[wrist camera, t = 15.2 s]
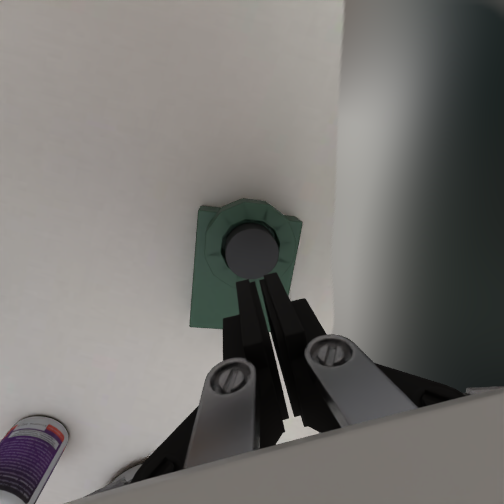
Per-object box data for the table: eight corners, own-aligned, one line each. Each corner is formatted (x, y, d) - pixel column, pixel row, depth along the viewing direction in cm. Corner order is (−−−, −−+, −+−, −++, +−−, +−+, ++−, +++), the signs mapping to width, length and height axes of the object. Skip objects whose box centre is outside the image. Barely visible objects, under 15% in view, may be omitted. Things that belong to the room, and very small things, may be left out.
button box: (201, 189, 22) (197, 195, 18) (298, 201, 23) (313, 210, 19) (191, 313, 26) (186, 340, 22) (277, 319, 27) (285, 345, 23)
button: (228, 220, 19) (228, 225, 18) (278, 225, 20) (283, 231, 18) (222, 267, 21) (222, 277, 19) (270, 272, 21) (274, 281, 19)
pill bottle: (6, 414, 27) (-105, 546, 18) (66, 412, 28) (-13, 539, 18) (18, 455, 29) (-79, 594, 20) (73, 452, 29) (5, 586, 20)
